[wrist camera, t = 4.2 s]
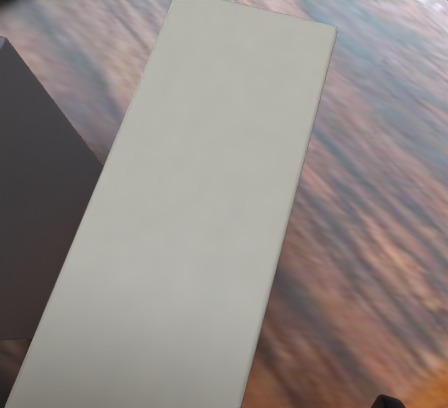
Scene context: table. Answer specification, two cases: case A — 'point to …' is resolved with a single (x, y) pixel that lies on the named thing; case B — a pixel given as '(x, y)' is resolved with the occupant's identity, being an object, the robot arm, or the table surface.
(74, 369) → the book
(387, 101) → the table surface
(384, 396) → the robot arm
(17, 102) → the grey box
